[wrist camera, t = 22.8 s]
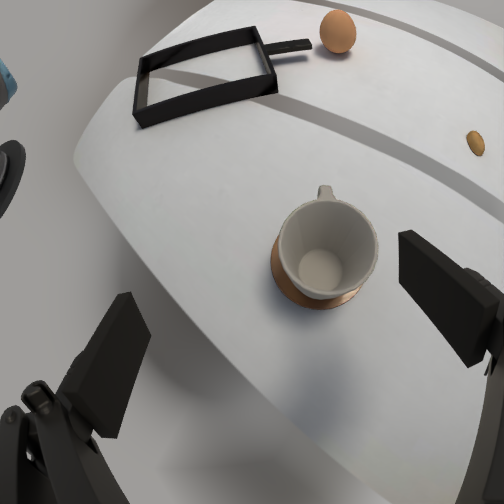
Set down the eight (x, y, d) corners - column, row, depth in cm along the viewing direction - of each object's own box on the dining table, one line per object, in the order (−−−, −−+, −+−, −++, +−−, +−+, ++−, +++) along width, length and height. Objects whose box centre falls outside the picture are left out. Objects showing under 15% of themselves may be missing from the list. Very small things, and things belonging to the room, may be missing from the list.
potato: (472, 155, 32) (477, 148, 30) (463, 132, 33) (467, 125, 31) (485, 157, 31) (491, 150, 30) (476, 134, 32) (481, 127, 31)
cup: (281, 308, 29) (275, 294, 21) (284, 213, 32) (279, 170, 24) (358, 310, 28) (381, 296, 20) (355, 215, 31) (371, 173, 23)
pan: (142, 129, 40) (132, 114, 37) (146, 71, 45) (139, 57, 41) (326, 85, 38) (327, 67, 34) (297, 35, 43) (296, 19, 39)
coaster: (281, 319, 29) (281, 319, 29) (262, 226, 33) (262, 224, 32) (378, 296, 29) (379, 296, 28) (352, 207, 32) (352, 205, 31)
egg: (361, 54, 39) (366, 14, 31) (337, 64, 39) (340, 22, 31) (336, 39, 41) (337, 0, 33) (312, 49, 41) (311, 8, 33)
